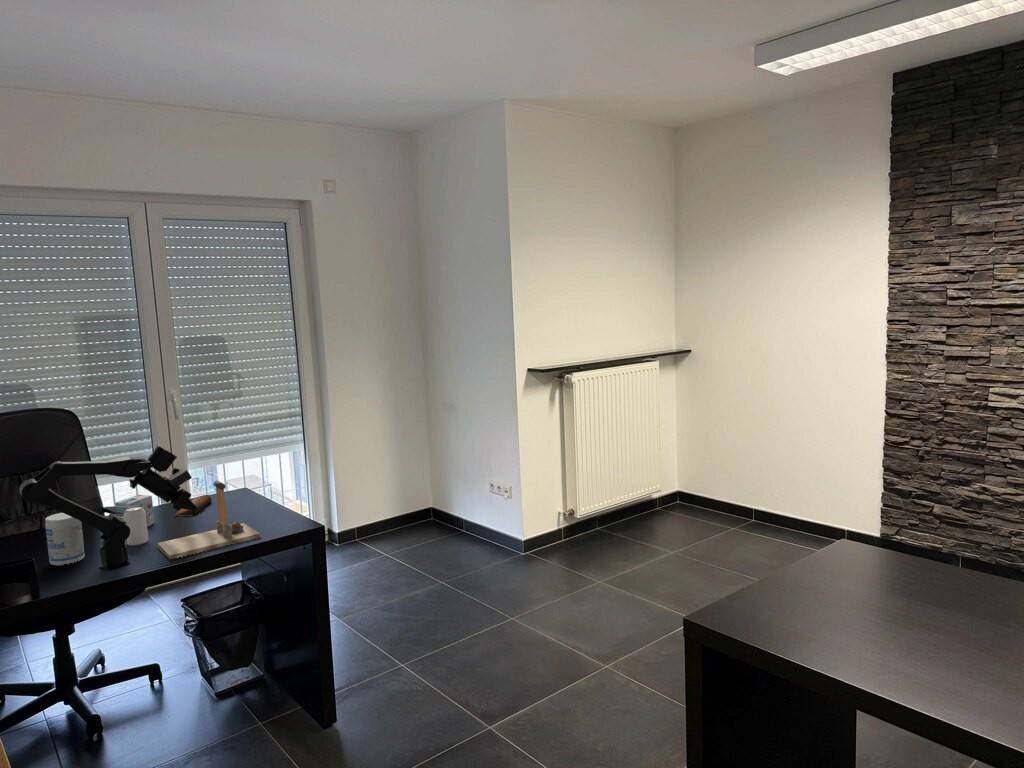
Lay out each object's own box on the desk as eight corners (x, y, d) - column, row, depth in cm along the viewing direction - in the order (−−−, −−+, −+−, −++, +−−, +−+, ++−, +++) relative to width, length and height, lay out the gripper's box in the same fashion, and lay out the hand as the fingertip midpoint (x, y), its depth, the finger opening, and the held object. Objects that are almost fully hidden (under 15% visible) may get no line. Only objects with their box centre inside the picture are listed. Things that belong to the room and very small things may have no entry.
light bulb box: (131, 533, 251) (128, 503, 250) (117, 531, 253) (113, 502, 252) (155, 523, 261) (152, 494, 260) (141, 522, 263) (138, 494, 262)
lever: (223, 527, 236) (218, 484, 234) (217, 523, 241) (213, 481, 239) (229, 525, 237) (225, 483, 236) (223, 521, 242) (219, 480, 240)
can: (132, 547, 236) (128, 512, 234) (123, 544, 239) (119, 509, 238) (152, 541, 241) (148, 507, 239) (143, 538, 245) (139, 504, 243)
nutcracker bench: (170, 560, 222) (168, 543, 221) (157, 547, 234) (155, 531, 234) (260, 537, 239) (258, 521, 238) (243, 527, 252) (242, 512, 251)
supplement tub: (43, 567, 221) (37, 521, 219) (60, 556, 230) (55, 512, 228) (75, 565, 221) (69, 519, 219) (91, 554, 231) (86, 510, 229)
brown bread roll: (190, 503, 286) (197, 488, 285) (206, 511, 287) (214, 496, 286) (172, 517, 268) (180, 501, 267) (189, 525, 269) (197, 510, 268)
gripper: (180, 467, 221) (221, 493, 229) (165, 458, 235) (204, 483, 243) (156, 497, 217) (198, 523, 225) (142, 486, 231) (182, 511, 240)
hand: (196, 509), depth 233 cm, fingers closed
